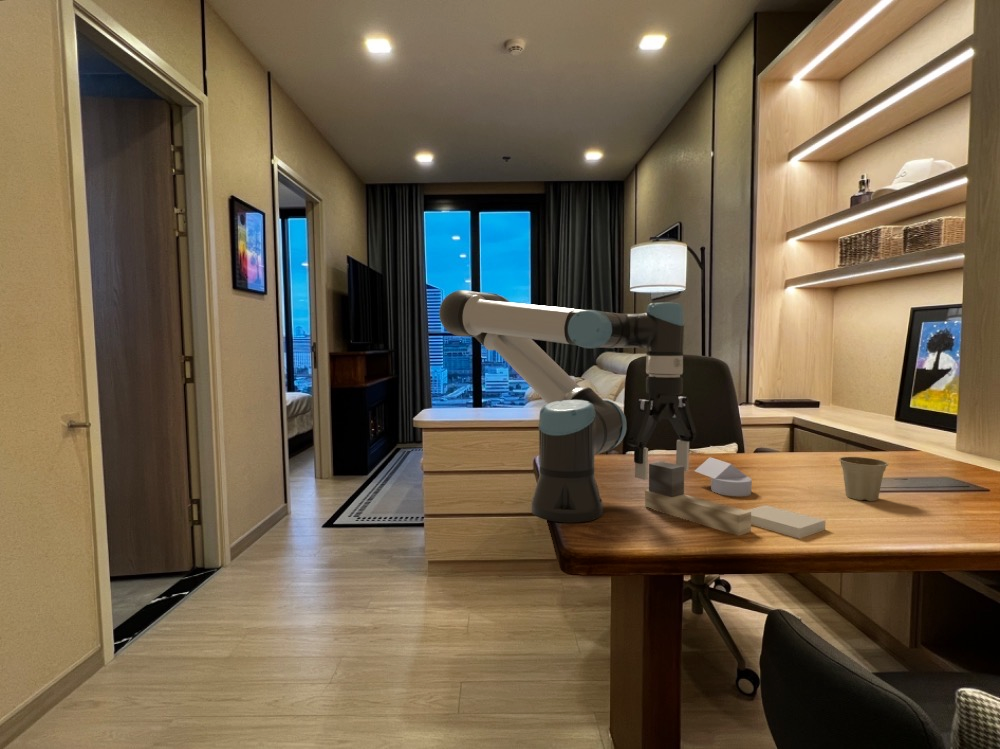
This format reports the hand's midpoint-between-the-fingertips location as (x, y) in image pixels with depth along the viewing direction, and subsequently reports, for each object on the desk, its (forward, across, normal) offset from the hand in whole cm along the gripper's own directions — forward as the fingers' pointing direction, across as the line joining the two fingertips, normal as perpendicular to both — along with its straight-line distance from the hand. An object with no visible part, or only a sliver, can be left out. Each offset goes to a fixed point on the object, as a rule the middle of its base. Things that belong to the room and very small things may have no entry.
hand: (662, 474), depth 116 cm
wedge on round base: (+8, +26, +2) cm, 27 cm away
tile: (+7, +11, -14) cm, 19 cm away
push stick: (+8, 0, -8) cm, 11 cm away
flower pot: (+7, +44, -21) cm, 50 cm away
